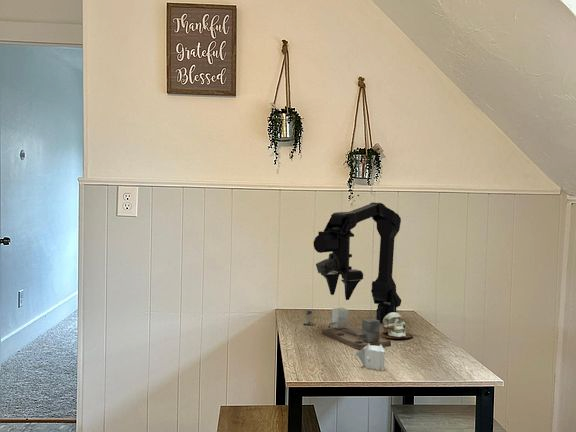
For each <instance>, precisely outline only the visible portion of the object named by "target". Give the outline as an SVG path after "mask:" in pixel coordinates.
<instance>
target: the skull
mask: <svg viewBox="0 0 576 432" xmlns="http://www.w3.org/2000/svg"><path fill="white" fill-rule="evenodd" d="M381 325H382V329H383V331H384V332H383V331H382V332H380V331H379V336H380V337H382V338H385V339H408V338H412V337H413V336H414V335H413V333H409V332H406V330H405V327H406V323H405V321H404V317H402V315H401V314H400V313H399V312H396V313H395V312H391V313H389V314H387V315H386V316H385V317H384V319H383V322H382V324H381Z"/></svg>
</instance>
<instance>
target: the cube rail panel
mask: <svg viewBox="0 0 576 432" xmlns="http://www.w3.org/2000/svg"><path fill="white" fill-rule="evenodd" d="M361 323H362V325H361V326H362V327H361V328H359V327H356V326H354V325H348V328H340V329H337V328H335V327H330V328H328V327H327V328H322V329H321V334H322V335H324V336H327V337H329V338H331V339H333V340H335V341H338V342H340V343H342V344H344V345H346V346H349V347H351V348H354V349H355V350H358V351H360V350H362V349H363V348H364V347H365V346H367V345H368V343H369V344H370V345H374V346H380V345H382V347H383V348H385V347H390V346H391V345H392V340H389V339H388V338H385V337H380V336H379V332H380V325H381V322H380V321H379V320H376V318H365V319H362V321H361Z"/></svg>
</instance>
